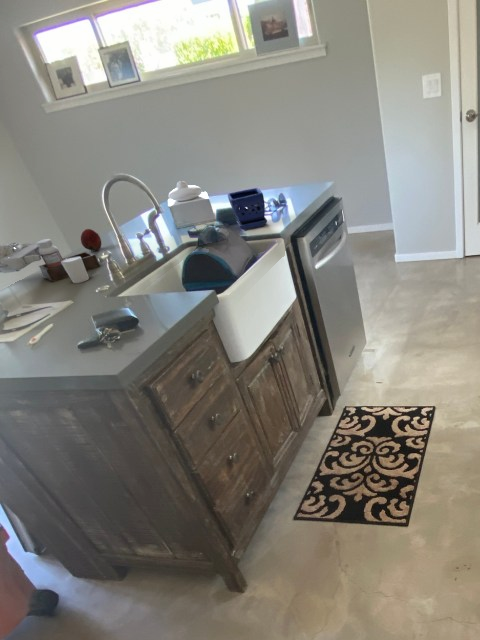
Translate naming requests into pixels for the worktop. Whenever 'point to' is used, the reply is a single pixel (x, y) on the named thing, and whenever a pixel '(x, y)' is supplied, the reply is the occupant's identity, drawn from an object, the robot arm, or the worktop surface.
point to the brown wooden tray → (60, 272)
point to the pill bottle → (49, 253)
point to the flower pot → (248, 208)
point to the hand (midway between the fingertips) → (45, 253)
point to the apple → (90, 240)
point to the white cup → (75, 269)
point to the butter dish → (189, 205)
